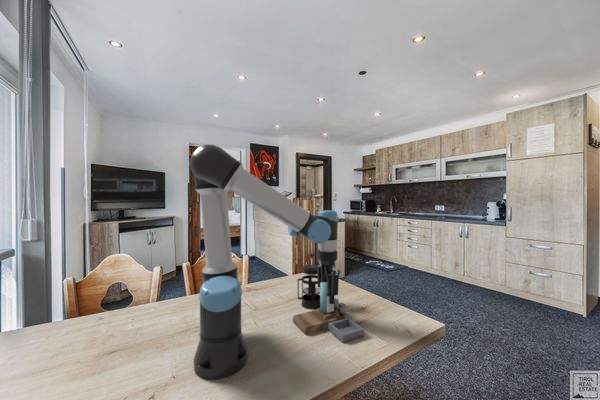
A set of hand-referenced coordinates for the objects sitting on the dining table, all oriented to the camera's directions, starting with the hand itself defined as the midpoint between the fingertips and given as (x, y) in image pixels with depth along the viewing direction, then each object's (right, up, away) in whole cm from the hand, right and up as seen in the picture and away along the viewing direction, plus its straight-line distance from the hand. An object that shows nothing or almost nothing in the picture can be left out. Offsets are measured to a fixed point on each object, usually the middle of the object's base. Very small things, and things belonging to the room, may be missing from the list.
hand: (327, 308), depth 98 cm
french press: (-6, -4, +14) cm, 16 cm away
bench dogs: (+5, -4, +2) cm, 7 cm away
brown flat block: (-4, -5, -3) cm, 7 cm away
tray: (+6, -4, -10) cm, 12 cm away
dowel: (-1, -2, 0) cm, 2 cm away
